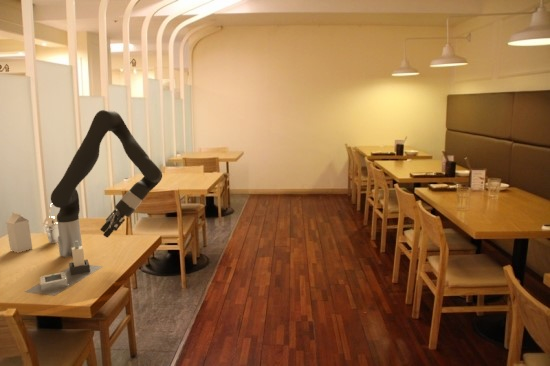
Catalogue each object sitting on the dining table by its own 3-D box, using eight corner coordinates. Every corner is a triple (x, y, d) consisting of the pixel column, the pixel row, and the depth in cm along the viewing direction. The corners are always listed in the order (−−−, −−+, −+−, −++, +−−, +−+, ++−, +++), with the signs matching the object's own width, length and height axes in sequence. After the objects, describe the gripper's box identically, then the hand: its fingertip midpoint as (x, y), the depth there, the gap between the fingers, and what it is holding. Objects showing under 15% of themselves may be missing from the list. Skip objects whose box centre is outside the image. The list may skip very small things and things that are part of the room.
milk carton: (18, 253, 206) (12, 215, 202) (10, 251, 210) (4, 214, 206) (32, 249, 212) (27, 212, 208) (25, 246, 215) (19, 210, 212)
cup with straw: (41, 244, 219) (35, 206, 215) (53, 238, 227) (48, 202, 223) (55, 244, 217) (50, 207, 213) (67, 239, 225) (62, 202, 221)
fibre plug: (75, 273, 177) (71, 243, 174) (74, 269, 180) (70, 240, 178) (85, 271, 179) (82, 241, 176) (84, 267, 182) (81, 239, 180)
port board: (24, 295, 161) (24, 291, 160) (76, 267, 187) (75, 263, 187) (55, 299, 157) (54, 295, 157) (103, 269, 184) (103, 266, 183)
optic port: (41, 292, 160) (40, 284, 159) (40, 283, 167) (39, 276, 167) (67, 286, 164) (66, 278, 163) (66, 278, 172) (65, 271, 171)
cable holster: (71, 275, 175) (70, 268, 174) (69, 269, 181) (69, 262, 180) (90, 271, 178) (89, 264, 178) (88, 265, 184) (87, 259, 184)
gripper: (118, 195, 189) (93, 224, 185) (125, 202, 177) (98, 233, 173) (132, 205, 192) (108, 234, 189) (139, 212, 180) (113, 243, 177)
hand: (103, 233), depth 181 cm, fingers open, 8 cm apart
